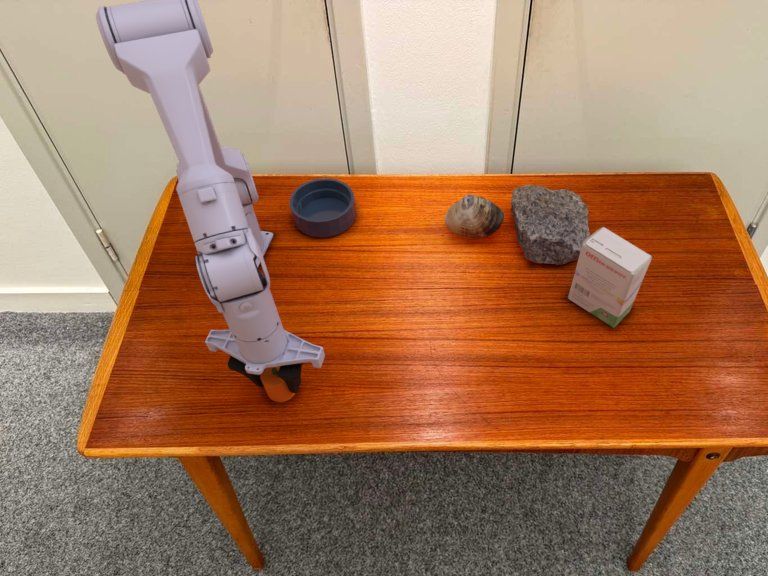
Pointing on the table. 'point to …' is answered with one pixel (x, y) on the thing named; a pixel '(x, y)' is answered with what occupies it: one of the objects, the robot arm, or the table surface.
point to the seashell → (474, 217)
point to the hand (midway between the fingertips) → (279, 384)
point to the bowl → (323, 207)
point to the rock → (549, 223)
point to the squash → (275, 385)
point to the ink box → (608, 276)
